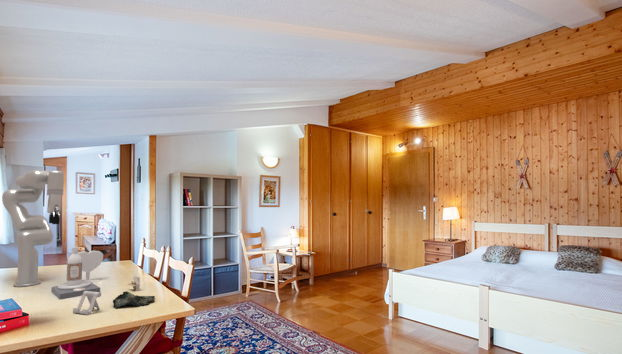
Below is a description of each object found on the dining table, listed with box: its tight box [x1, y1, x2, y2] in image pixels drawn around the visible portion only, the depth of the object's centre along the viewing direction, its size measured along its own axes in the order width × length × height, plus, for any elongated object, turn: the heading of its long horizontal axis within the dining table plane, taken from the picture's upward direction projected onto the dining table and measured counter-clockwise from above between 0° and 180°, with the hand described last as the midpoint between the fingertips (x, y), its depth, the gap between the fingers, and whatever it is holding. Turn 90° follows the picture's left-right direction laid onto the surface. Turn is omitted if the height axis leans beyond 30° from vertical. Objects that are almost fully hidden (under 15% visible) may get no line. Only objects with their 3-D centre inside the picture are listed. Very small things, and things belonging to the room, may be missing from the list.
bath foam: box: [66, 246, 83, 285], centre depth 199 cm, size 7×7×20 cm
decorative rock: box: [112, 291, 156, 310], centre depth 175 cm, size 19×6×15 cm
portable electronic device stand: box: [72, 291, 102, 316], centre depth 162 cm, size 9×8×8 cm
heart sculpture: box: [78, 250, 104, 283], centre depth 222 cm, size 16×5×18 cm, turn 128°
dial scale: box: [51, 280, 101, 300], centre depth 197 cm, size 22×18×4 cm
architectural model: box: [126, 276, 141, 292], centre depth 200 cm, size 3×7×7 cm, turn 51°
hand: (54, 223), depth 205 cm, fingers open, 9 cm apart
